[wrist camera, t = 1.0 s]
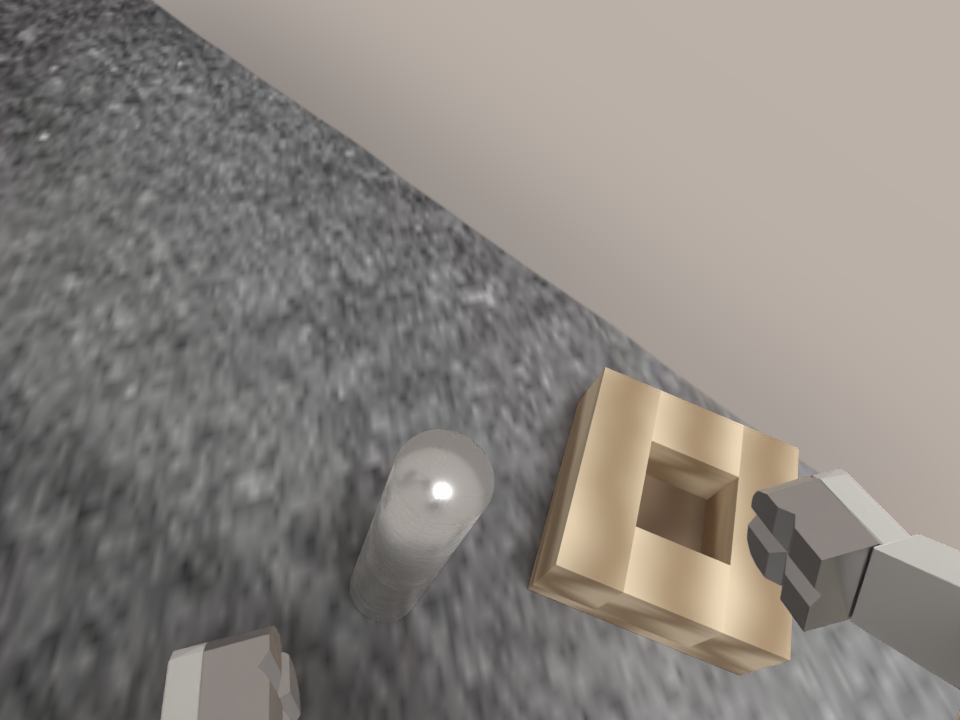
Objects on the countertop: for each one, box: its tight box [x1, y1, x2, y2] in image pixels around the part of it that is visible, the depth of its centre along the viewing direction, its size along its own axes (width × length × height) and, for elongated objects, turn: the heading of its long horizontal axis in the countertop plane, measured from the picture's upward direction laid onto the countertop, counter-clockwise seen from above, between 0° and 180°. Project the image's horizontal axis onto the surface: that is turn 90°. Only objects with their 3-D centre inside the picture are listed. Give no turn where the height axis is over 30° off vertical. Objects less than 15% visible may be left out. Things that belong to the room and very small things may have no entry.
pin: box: [350, 429, 494, 623], centre depth 34 cm, size 4×4×16 cm
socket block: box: [528, 367, 799, 675], centre depth 45 cm, size 14×14×5 cm
